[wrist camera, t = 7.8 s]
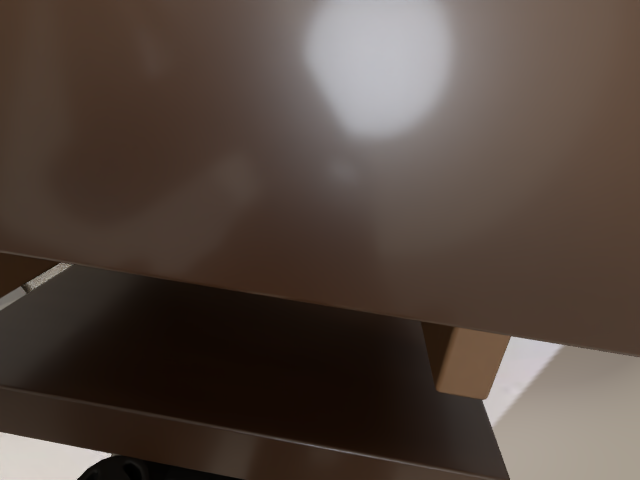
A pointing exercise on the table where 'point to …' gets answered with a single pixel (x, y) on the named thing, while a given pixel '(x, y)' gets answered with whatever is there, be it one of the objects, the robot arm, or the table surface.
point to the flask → (11, 297)
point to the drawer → (242, 380)
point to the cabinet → (338, 153)
